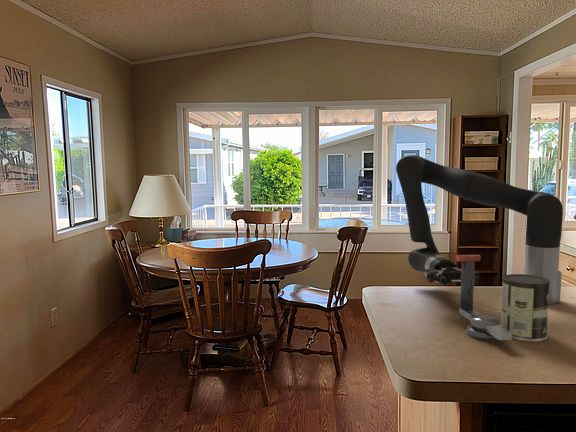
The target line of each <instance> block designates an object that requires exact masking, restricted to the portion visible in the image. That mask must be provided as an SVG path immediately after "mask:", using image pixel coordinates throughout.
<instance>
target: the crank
mask: <svg viewBox="0 0 576 432" xmlns="http://www.w3.org/2000/svg"><path fill="white" fill-rule="evenodd" d="M455 255H456V254H455ZM481 257H482V256H481V255H480V254H457V255H456V256H455V261H456V262H461V267H460V269H461V278H460V279H461V282H460V301H459V303H460V304H459V313H458V314H460V315H462V317H464V318H465V319H467V320H468V321H470V323H469V324H470V327H471V328H472V329H474V330H477V331H481V332H488V333H489V334H491V335H492V336H494V337H495V338H497V339H498V340H497V341H512V340H513V339H512V333H511V332H510V331H508V330H507V329H505V328H503V327H502V326H501V324H500V319H499V318H498V317H496V316H495V315H494V316H493V315H491V314H485V313H480V312H478V311H477V310H476V309H474V293H475V292H474V291H475V285H474V271H475V268H476V267H475V265H476V263H475V262H481Z"/></svg>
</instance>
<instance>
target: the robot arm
mask: <svg viewBox="0 0 576 432" xmlns="http://www.w3.org/2000/svg"><path fill="white" fill-rule="evenodd" d="M395 166H396V167H395V171H396V175H397V178H398V181H399V184H400V187H401V190H402V195H403V199H404V202H405V208H406V214H407V215H406V216H407V220H408V221H407V223H408V227H409V229H408V230H409V236H410V240H411V241H412V242H414V243H423V244H425V245H426V247H422V248H416V249H412V250H411V251H409V253H408V256H407V259H408V264H409V266H410V267H411V268H412V269H413V270H415V271H417V272H421V273H422V272H423V273H424V279H426V280H427V281H428V282H429V283H434V282H435V283H437V284H440V285H442V286H447V284H451V283H452V282H459V283H461V268H458V265H456V263H455V262H453V261H452V260H451V259H449V258H447V257H445V256H443V255H441V254H440V252H439V250H438V248H437V246H436V243H435V241H434V238H433V234H432V229H431V221H430V216H429V212H428V210H427V206H426V203H425V200H424V195H423V187H422V183H423V184H427V185H431V186H434V187H437V188H440V189H442V190H444V191H445V192H447V193H449V194H451V195H454V196H456V197H457V198H458V197H459V198H461V199H463V200H466V201H469V202H474V203H477V204H480V205H486V206H489V207H497V208H504V209H508V210H511V211H514V212H517V213H520V214H522V215H525V216H526V225H525V226H526V229H525V230H526V231H525V245H524V246H525V247H524V266H523V275H533V276H539V277H543V278H546V279H548V280H549V281H550V285H549V298H548V305H555V304H556V303H561V293H562V291H561V290H562V289H561V288H562V275H563V274H562V273H563V272H562V271H561V270H559V268H560V254H561V251H560V249H561V241H562V232H563V231H562V229H563V217H564V208H563V207H564V206H563V203H562V202H561V200H560V199H559V198H558V197H557V196H556V195H554V194H552V193H549V192H543V191H535V190H531V189H525V188H521V187H517V186H514V185H512V184H509V183H507V182H504V181H502V180H499V179H497V178H495V177H491V176H489V175H485V174H482V173H478V172H475V171H472V170H466V169H464V168H458V167H452V166H451V167H450V166H447V165H443V164H439V163H438V162H437V163H436V162H434V161H431V160H429V159H426V158H424V157H422V156H420V155H416V154H409V155H405V156H403V157H401V158H400V159H398V161H397V163H396V165H395ZM479 282H480V272H478V271H477V270H476V271H475V270H474V286H478V284H479Z"/></svg>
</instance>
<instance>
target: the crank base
mask: <svg viewBox="0 0 576 432" xmlns="http://www.w3.org/2000/svg"><path fill="white" fill-rule="evenodd" d="M466 334H467V336H468V337H471V338H472V339H475V340H479V341H485V342H486V341H487V342H495V341H499V340H498V339H497V338H495V337H494V336H492V335H491V334H489V333H488V332H481V331H477V330H474V329H472V328H471V327H470V323H469V324H468V325H466Z"/></svg>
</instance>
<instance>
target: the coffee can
mask: <svg viewBox="0 0 576 432" xmlns="http://www.w3.org/2000/svg"><path fill="white" fill-rule="evenodd" d="M501 279H502V294H501V295H502V299H501V323H500V326H502V327H503V328H505V329H507V330H508V331H510V332H511V333H512V340H515V341H516V340H517V341H523V342H528V343H529V342H531V343H533V342H534V343H536V342H537V343H539V342H544V341H546V340H547V338H548V313H549V304H548V298H549V285H550V281H549V280H548V279H546V278H543V277H539V276H533V275H524V273H512V274H506V275H503V276H502V278H501Z"/></svg>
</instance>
